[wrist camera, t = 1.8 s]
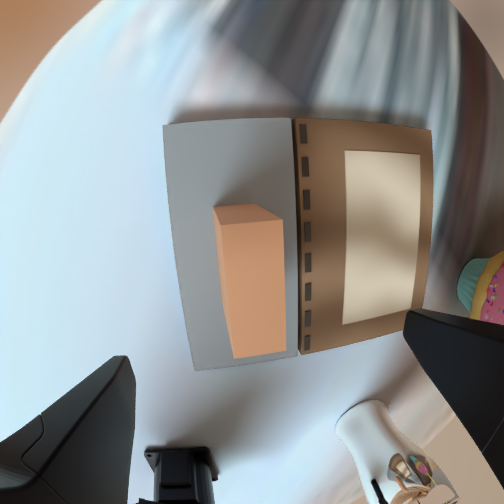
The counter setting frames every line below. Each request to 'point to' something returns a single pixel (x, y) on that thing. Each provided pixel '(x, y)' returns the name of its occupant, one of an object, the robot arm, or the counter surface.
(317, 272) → the block
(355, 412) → the beer glass
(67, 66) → the counter surface
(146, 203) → the counter surface
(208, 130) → the gray plate with block
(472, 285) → the cupcake
